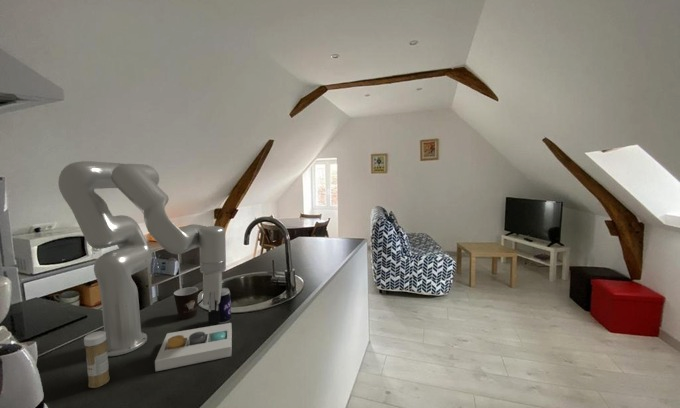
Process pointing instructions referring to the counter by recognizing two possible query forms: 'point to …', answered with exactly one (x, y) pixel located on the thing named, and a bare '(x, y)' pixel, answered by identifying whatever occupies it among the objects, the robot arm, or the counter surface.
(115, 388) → the counter surface
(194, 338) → the charcoal button
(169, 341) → the orange button
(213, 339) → the teal button
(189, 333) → the panel
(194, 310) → the coffee mug
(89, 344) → the sprinkles bottle
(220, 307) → the beverage can
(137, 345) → the robot arm
